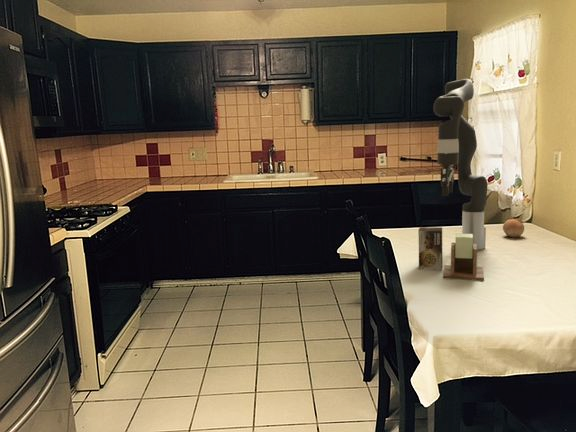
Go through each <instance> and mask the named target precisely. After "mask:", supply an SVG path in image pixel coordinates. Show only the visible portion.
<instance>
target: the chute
mask: <svg viewBox="0 0 576 432" xmlns="http://www.w3.org/2000/svg"><path fill="white" fill-rule="evenodd" d="M477 260H478V250H477V245H476V243H473V253H472V259H471V258H455V242H451V244H450V265H444V267H443V268H444V269H443V279H448V280H465V281H467V280H468V281H485V275H484V269H483V266H478V265H477V263H478V261H477Z"/></svg>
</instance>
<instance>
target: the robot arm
mask: <svg viewBox="0 0 576 432" xmlns="http://www.w3.org/2000/svg"><path fill="white" fill-rule="evenodd" d="M474 91H475V90H474V84H473V81H472V80H471V79H469V78H462V79H457V80H454V81H449V82H446V84H445V86H444V95H441V96H438V97H437V98H436V99H435V101H434V103H433V113H434V114H435V115H436V116H438V117H441V118H443V117H450V118H449V119H450V121H448V122H443V123H440V124H439V125H438V135H437V136H438V138H437V139H438V141H437V153H436V154H437V155H436V156H437V157H436V159H437V163H436V164H437V165H442V168H440V183H439V184H440V185H441V196H442V197H448V196H449V194H453V186H454V183H455V182H454V181H455V165H457V166H456V167H457V183H458V189H459V191H460V193H461V194H463V195H464V196H470V197H471V198H470V201H469V202H465V203H463V204H462V211H461V212H462V216H461V218H462V219H461V223H462V225H461V228H462V229H461V234H472V235H473V243H476V245H477V251H481V250H483V249H485V248H486V241H487V240H486V238H487V237H486V236H487V234H486V233H487V230H486V229H487V228H486V226H485V208H486V204H487V199H488V181H487V178H486V177H485V176H484V175H475V174H472V169H471V167H472V166H471V165H472V160H473V157H474V155H475V153H476V150H477V146H478V142H477V134H476V130H475V128H474V127H473V126H472V125H471V123H470V122H469V121H468V120H467V119H466V118H465V117H464V116H463V111H464V107H465V103H466V102H468V101H471V100H472V99H473V97H474V96H475V92H474Z"/></svg>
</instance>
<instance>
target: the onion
mask: <svg viewBox="0 0 576 432" xmlns="http://www.w3.org/2000/svg"><path fill="white" fill-rule="evenodd" d="M502 225H503V226H502V230H503V232H504V234H505V235H506V236H507V238H518V237H521V236H522V235H523V234H524V231H525V225H524V222H523V221H522V220H521V219H520V218H512V219H511V218H510V219H507V220H506V221H505V222H504V223H503V224H502Z"/></svg>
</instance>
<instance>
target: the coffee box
mask: <svg viewBox="0 0 576 432" xmlns="http://www.w3.org/2000/svg"><path fill="white" fill-rule="evenodd" d="M417 231H418V233H417V234H418V270H426V271H427V270H428V271H429V270H430V271H431V270H432V271H443V268H444V267H443V227H441V226H440V227H439V226H433V227H432V226H431V227H430V226H420V227H418V230H417Z"/></svg>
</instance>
